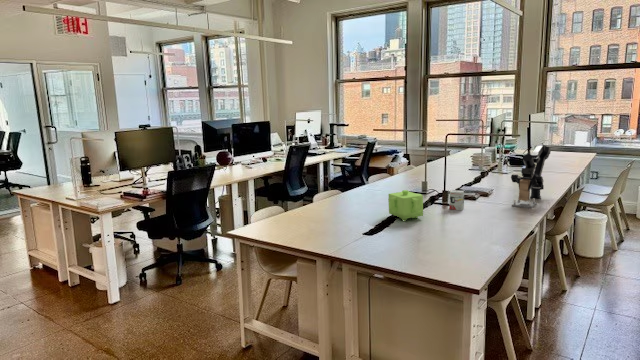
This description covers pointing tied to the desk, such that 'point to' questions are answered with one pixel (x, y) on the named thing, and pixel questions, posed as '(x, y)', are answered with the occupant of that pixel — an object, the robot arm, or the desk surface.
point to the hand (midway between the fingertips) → (524, 190)
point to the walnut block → (524, 190)
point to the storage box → (406, 204)
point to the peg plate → (524, 204)
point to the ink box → (456, 200)
